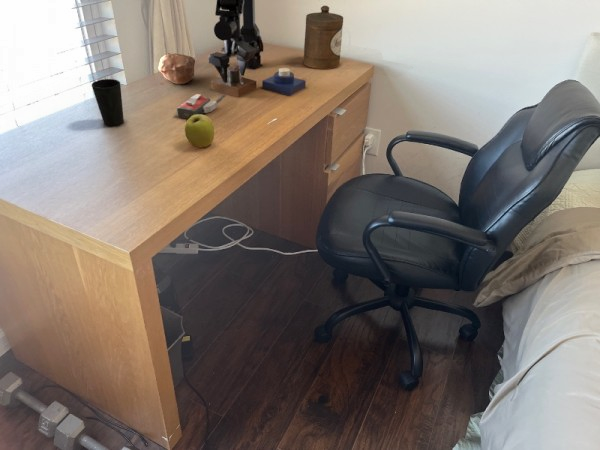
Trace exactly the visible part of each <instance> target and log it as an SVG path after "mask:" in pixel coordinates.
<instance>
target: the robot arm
mask: <svg viewBox="0 0 600 450" xmlns="http://www.w3.org/2000/svg"><path fill="white" fill-rule="evenodd" d="M255 3H256V2H255V0H216V4H215V5H216V6H215V12H214V13H215V16H217V17H218V18H219V19H218V21H217V22H216V23H215V24H214V27H213V34H214V36H215V37H216V38H217V39H218V40H220V41H222V42H223V47H221V52H219V51H216V52H213V53H210V54H209V55H208V57H207V60H208V64H211V66H213V67H214V68H215V69H216V71H217V73H218V75H219V76H220V78H222V80H223V81H224V83H227V75H228V69H229V68H230V66H231V64H230V60H231V59H232V58H234V57H236V61H237V67H238V69H239V73H240V77H244V76H245V73H246V69H249V70H255V69H257V68H261V67H262V66H263V63H262V58H261V57H262V55H261V53H263V52H264V42H263V39H262V36H261V34H260V29H259V27H258V24H256V4H255ZM241 16H242V26H241Z"/></svg>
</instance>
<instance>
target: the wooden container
mask: <svg viewBox="0 0 600 450" xmlns="http://www.w3.org/2000/svg"><path fill="white" fill-rule="evenodd" d="M343 26H344V16H342V15H341V14H337V13H333V12H330V7H329V6H328V5H322V6H321V7H320V12H310V13H308V14H306V15H305V30H304V31H305V32H304V45H303V65H305V66H307V67H308V68H312V69H316V70H317V69H318V70H330V69H335V68H337V67H339V66H340V62H341V53H342V41H343V40H342V39H343Z"/></svg>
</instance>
